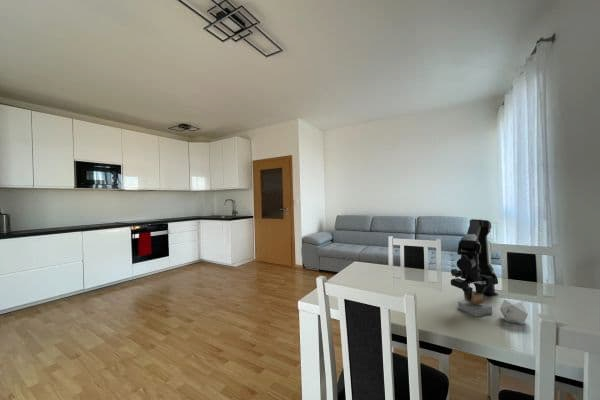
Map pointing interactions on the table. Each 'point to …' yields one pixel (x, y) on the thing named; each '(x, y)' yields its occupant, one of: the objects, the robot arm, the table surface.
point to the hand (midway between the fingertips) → (473, 299)
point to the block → (475, 298)
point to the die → (513, 311)
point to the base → (475, 308)
